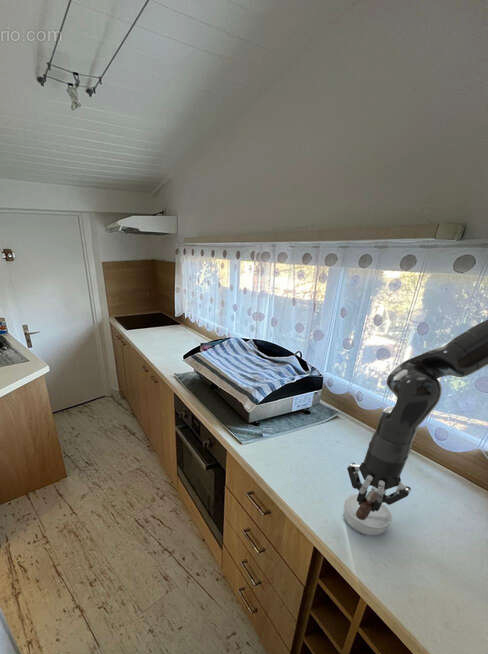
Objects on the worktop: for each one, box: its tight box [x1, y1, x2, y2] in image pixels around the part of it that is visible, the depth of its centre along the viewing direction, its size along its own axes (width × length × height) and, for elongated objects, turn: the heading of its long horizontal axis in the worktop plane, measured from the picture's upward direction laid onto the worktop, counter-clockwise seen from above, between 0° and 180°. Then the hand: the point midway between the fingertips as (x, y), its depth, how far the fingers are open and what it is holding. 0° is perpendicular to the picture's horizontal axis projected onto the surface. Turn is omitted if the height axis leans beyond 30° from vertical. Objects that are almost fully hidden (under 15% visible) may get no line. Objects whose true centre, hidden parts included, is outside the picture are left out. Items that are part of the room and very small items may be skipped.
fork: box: [356, 486, 378, 520], centre depth 78 cm, size 19×2×2 cm, turn 135°
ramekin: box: [343, 493, 393, 536], centre depth 82 cm, size 11×11×5 cm
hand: (367, 506), depth 77 cm, fingers closed on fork, 2 cm apart
